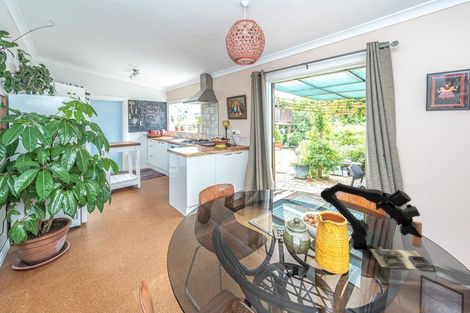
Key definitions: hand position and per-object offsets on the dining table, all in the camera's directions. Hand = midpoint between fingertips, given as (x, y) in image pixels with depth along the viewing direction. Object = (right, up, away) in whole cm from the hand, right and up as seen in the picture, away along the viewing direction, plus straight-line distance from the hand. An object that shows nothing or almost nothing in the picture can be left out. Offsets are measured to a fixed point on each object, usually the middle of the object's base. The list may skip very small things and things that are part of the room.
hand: (420, 235), depth 101 cm
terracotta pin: (-1, -6, +2) cm, 6 cm away
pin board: (-8, -14, +4) cm, 17 cm away
